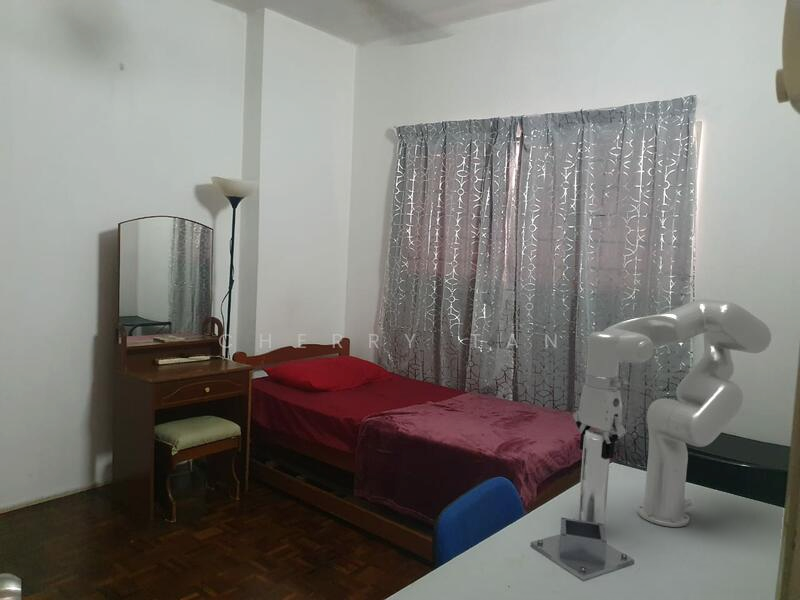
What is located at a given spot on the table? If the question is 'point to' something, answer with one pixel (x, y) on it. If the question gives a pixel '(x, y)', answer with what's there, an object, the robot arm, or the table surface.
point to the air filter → (593, 478)
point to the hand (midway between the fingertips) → (596, 452)
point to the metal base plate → (582, 549)
